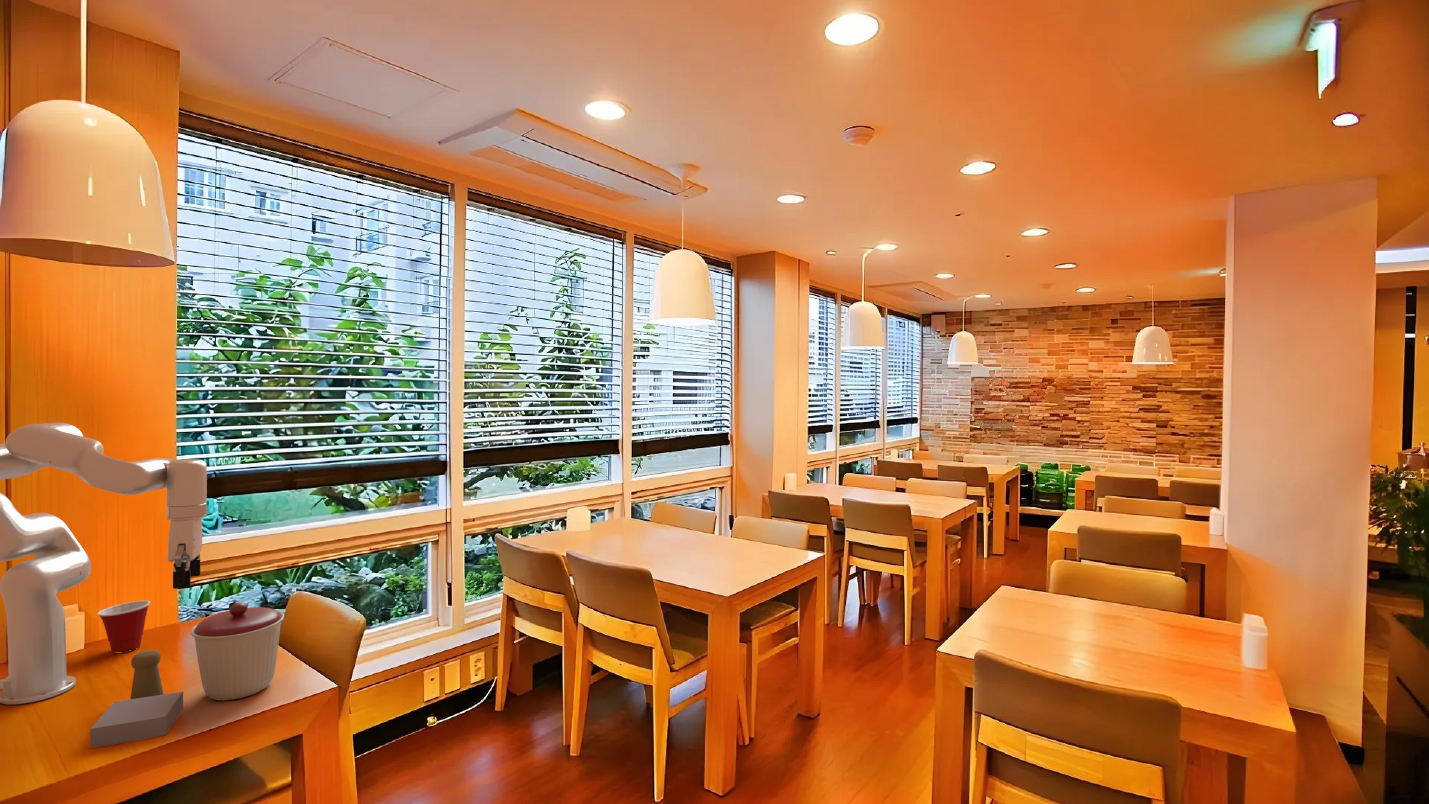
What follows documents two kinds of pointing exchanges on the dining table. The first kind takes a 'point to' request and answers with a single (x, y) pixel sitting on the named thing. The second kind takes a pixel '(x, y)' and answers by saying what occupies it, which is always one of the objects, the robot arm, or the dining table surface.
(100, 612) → the plastic cup
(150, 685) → the cork
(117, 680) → the dining table surface
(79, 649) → the dining table surface
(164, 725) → the block
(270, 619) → the canister
